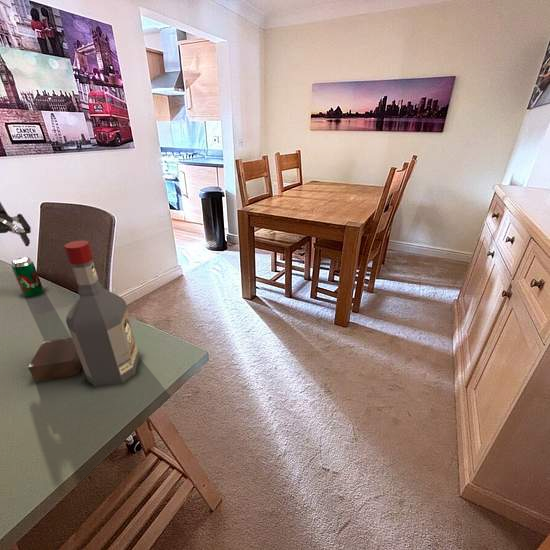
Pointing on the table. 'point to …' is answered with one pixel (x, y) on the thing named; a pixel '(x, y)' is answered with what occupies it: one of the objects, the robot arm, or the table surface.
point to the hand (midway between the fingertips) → (10, 248)
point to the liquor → (99, 324)
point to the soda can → (27, 277)
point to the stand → (55, 360)
